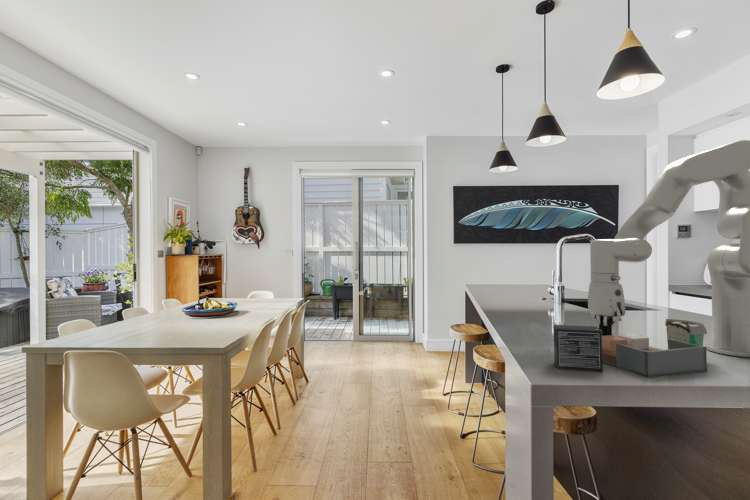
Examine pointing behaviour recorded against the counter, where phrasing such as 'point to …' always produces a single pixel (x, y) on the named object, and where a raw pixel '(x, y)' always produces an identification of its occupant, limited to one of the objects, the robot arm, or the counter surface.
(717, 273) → the robot arm
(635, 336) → the cream tile
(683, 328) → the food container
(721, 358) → the counter surface
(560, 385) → the counter surface
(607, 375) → the counter surface
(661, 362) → the tray
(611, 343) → the terracotta tile
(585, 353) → the small box
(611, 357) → the walnut board
